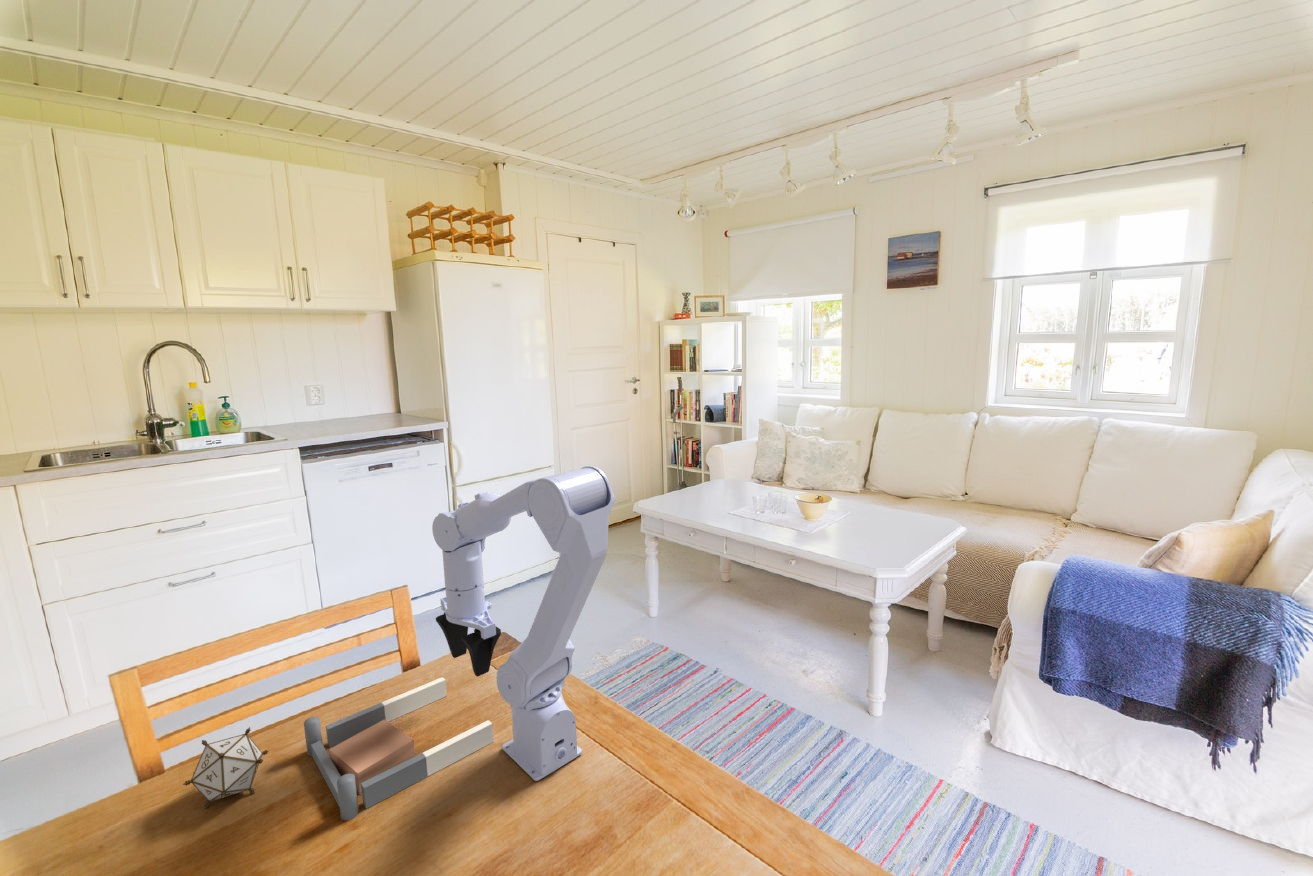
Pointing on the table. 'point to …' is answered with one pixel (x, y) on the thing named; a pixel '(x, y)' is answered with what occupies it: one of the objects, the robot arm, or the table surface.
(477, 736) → the lane walls
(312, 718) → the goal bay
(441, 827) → the table surface
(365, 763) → the sliding block
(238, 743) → the game die
